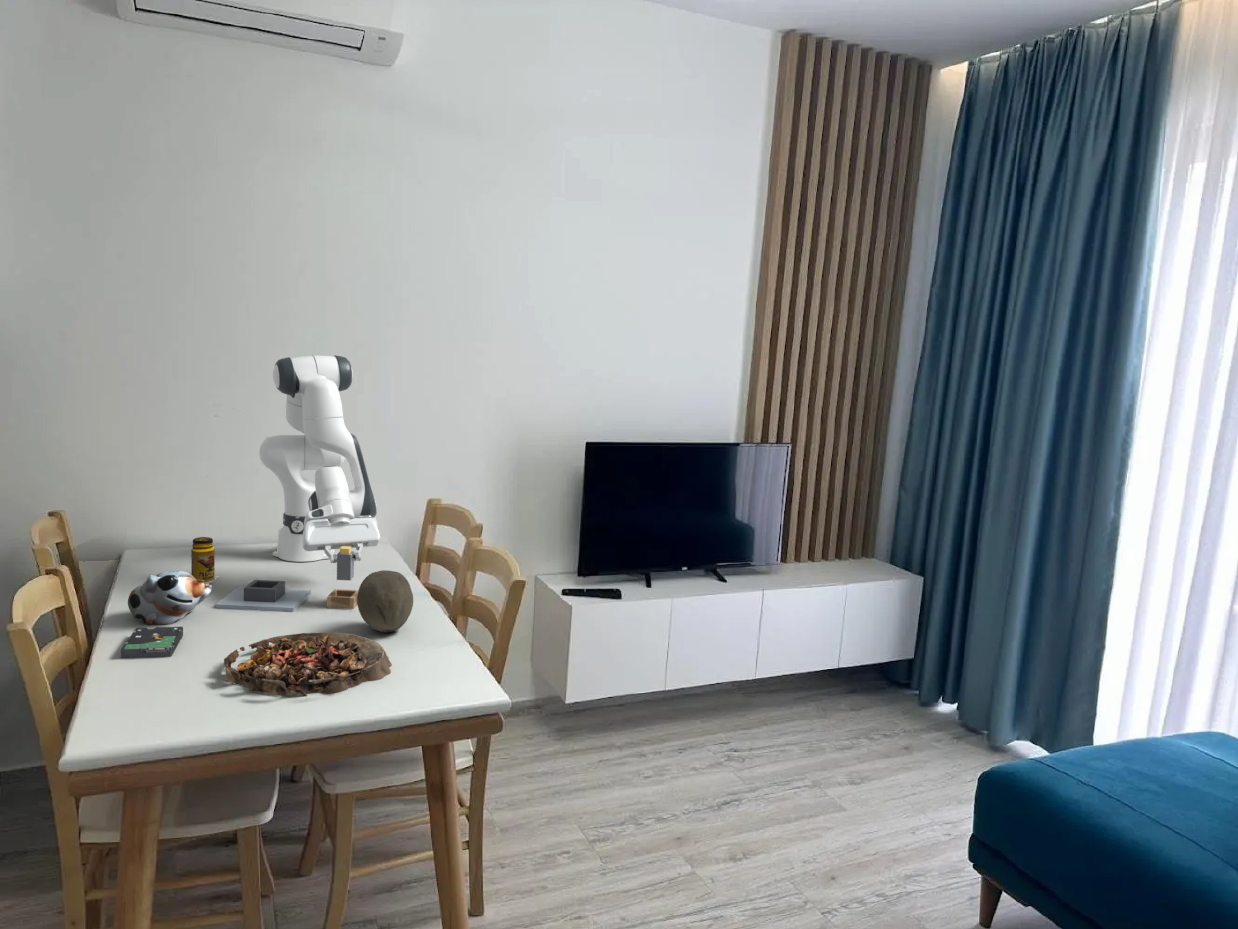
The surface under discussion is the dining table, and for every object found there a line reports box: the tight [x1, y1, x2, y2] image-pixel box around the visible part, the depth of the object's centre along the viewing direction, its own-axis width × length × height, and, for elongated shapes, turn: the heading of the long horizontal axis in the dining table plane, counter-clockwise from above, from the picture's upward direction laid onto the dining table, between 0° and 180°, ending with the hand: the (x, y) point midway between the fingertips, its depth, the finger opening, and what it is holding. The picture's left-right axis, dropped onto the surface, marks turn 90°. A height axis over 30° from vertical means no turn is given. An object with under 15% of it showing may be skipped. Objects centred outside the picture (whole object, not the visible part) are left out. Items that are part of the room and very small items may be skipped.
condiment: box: [190, 536, 219, 584], centre depth 265 cm, size 7×8×12 cm
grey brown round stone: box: [357, 569, 414, 633], centre depth 232 cm, size 14×14×15 cm
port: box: [214, 579, 312, 613], centre depth 250 cm, size 16×20×4 cm
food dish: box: [223, 631, 393, 698], centre depth 204 cm, size 35×33×8 cm
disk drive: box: [120, 626, 184, 660], centre depth 212 cm, size 10×3×15 cm
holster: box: [326, 588, 359, 610], centre depth 251 cm, size 7×7×3 cm
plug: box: [336, 546, 355, 581], centre depth 249 cm, size 4×4×8 cm
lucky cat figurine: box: [127, 570, 213, 626], centre depth 231 cm, size 17×14×16 cm
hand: (346, 561), depth 248 cm, fingers closed on plug, 5 cm apart
